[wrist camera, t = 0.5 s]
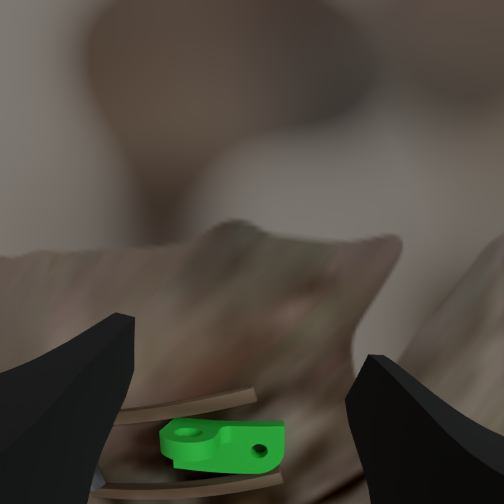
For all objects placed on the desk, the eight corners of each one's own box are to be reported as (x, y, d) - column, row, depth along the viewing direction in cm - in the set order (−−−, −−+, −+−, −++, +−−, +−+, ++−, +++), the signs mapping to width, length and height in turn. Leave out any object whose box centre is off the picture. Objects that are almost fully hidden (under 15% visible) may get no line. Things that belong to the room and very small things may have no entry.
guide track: (282, 475, 27) (283, 487, 24) (98, 491, 27) (88, 499, 24) (253, 384, 30) (252, 389, 27) (68, 413, 30) (55, 417, 27)
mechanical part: (178, 461, 28) (156, 490, 21) (175, 416, 30) (150, 438, 22) (282, 466, 28) (286, 500, 20) (283, 420, 29) (287, 446, 22)
